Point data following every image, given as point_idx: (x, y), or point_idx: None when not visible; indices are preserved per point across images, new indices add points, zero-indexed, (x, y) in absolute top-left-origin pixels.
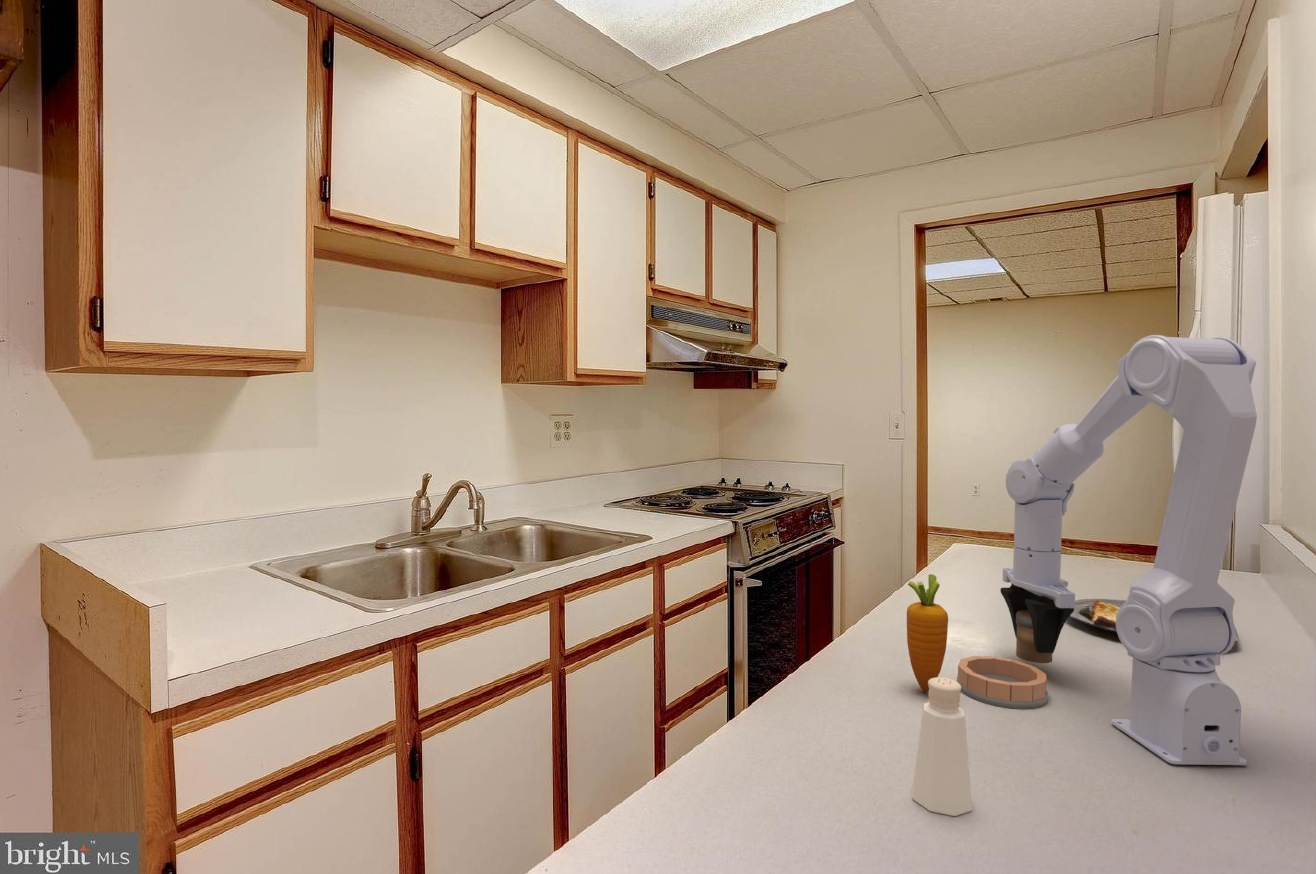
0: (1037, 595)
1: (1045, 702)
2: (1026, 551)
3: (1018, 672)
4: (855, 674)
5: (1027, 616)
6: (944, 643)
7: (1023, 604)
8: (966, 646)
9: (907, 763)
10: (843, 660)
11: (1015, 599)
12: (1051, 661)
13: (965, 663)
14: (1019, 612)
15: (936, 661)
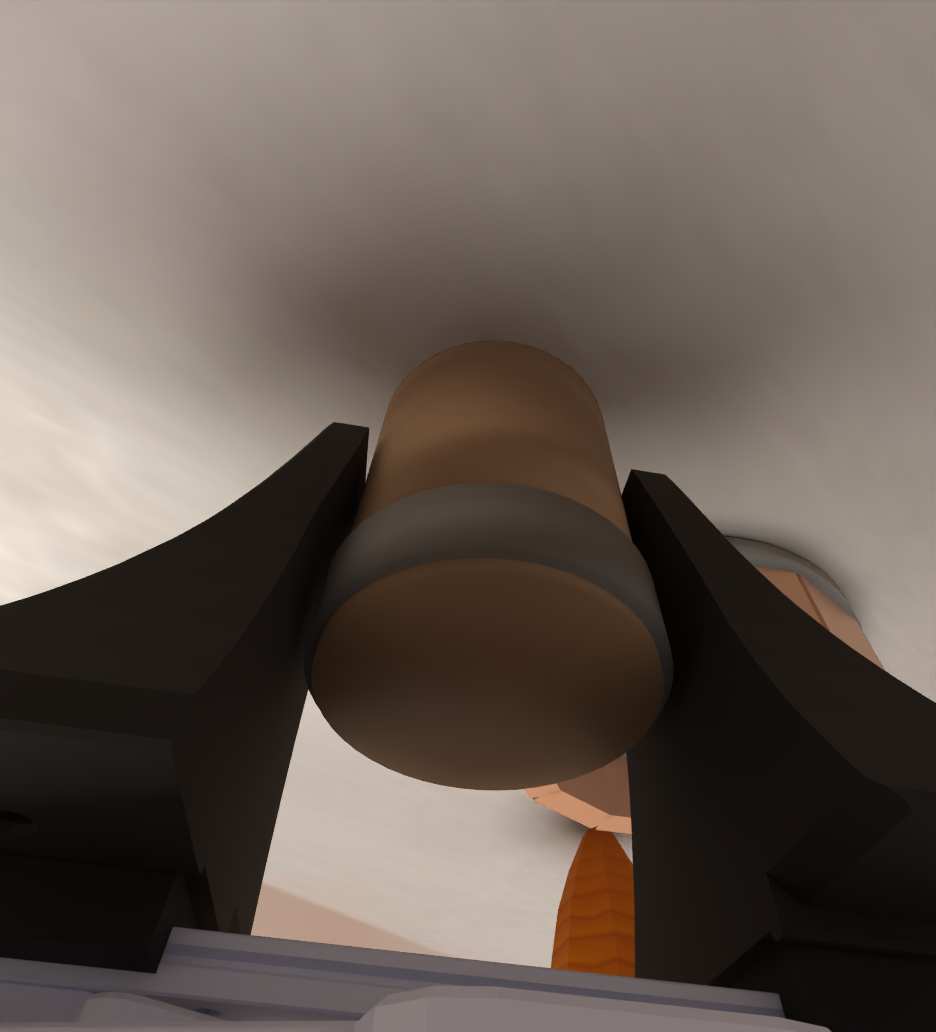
0: (222, 745)
1: (849, 605)
2: None
3: None
4: (431, 883)
5: (535, 776)
6: None
7: (276, 740)
8: (70, 493)
9: None
10: (318, 872)
11: (261, 844)
12: (591, 391)
13: (581, 807)
14: (401, 762)
15: None
